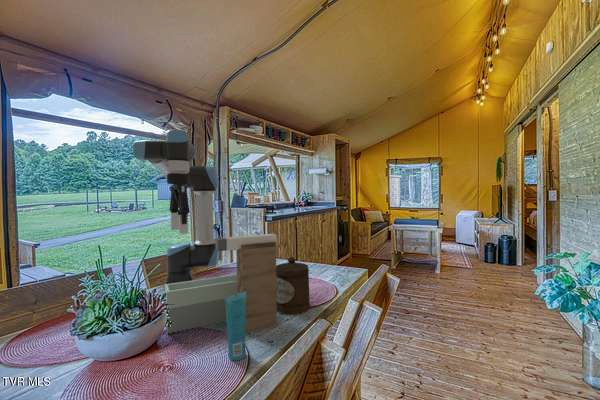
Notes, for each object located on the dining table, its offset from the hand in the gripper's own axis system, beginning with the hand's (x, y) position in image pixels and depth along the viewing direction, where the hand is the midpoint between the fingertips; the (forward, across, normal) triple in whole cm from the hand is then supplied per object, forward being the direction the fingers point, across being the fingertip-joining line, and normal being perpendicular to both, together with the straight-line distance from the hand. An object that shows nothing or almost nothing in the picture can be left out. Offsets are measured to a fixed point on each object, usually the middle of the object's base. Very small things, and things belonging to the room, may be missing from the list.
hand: (179, 231), depth 105 cm
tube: (+36, +29, +10) cm, 47 cm away
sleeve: (+6, +14, +20) cm, 25 cm away
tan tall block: (+36, +14, +24) cm, 46 cm away
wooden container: (+36, +7, +44) cm, 58 cm away
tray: (+36, -2, +11) cm, 38 cm away
